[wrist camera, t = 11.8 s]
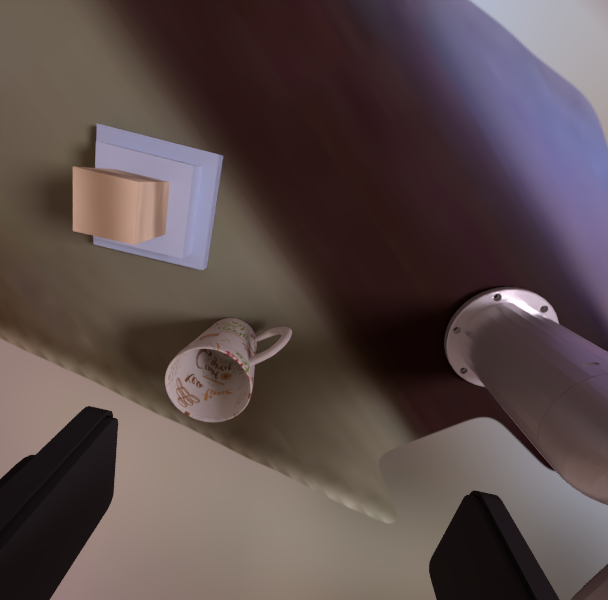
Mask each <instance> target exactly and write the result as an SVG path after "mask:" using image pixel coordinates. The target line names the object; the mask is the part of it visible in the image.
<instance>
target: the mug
mask: <svg viewBox="0 0 608 600" xmlns="http://www.w3.org/2000/svg"><path fill="white" fill-rule="evenodd" d="M278 334H280V335H281V337H280V338H279V340H278V341H277V342H276V343H275V344H274V345H272V346H271V347H270V348H268V349H267V350H265V351H263V352H261V353H259V354H256V348H257V342H258V341H261V340H263V339H266V338H268V337H271V336H274V335H278ZM291 336H292V330H291V329H290V328H289V327H286V326H283V327H276V328H272V329H269V330H268V331H266V332H264V333H262V334H260V335H259V336H257V337H256V335H255V333H254V331H253V329H252V328H251V327H250V326H249V325H248V324H247V323H245V322H244V321H242V320H239V319H236V318H225V319H222V320H219V321H218V322H216V323H215V324H213V325H212V326H211V327H210V328H208V329H207V330H206V331H205V332H204V333H202V334H201V335H200V336H199V337H197V338H196V339H195V340H194V341H193V342H191V343H190V344H189V345H188V346H186V347H185V348H184V349H183V350H182V351H180V352H179V353H178V354H177V355H176V356H175V357H174V358H173V359H172V361H171V362H170V364H169V366H168V368H167V370H166V374H165V387H166V391H167V393H168V396H169V398H170V399H171V401H172V402H173V404H174V405H175V406H176V407H177V408H178V409H179V410H180V411H182V412H183V413H184V414H186V415H188V416H190V417H192V418H194V419H197V420H200V421H205V422H221V421H226V420H229V419H231V418H233V417H235V416H237V415H238V414H240V413H241V412H242V411H243V410H244V409H245V407H246V406H247V404H248V403H249V401H250V398H251V395H252V390H253V381H254V370H255V364H257V363H260V362H262V361H264V360H266V359H268V358H270V357H272V356H273V355H275V354H276V353H277V352H279V351H280V350H281V349H282V348H283V347H284V346H285V345H286V344H287V343H288V341H289V340H290V338H291Z"/></svg>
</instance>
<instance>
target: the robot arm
mask: <svg viewBox="0 0 608 600" xmlns="http://www.w3.org/2000/svg"><path fill="white" fill-rule="evenodd" d="M455 327H456V328H455ZM454 328H455V329H454ZM444 349H445V355H446V357H447V359H448V362H449V363H450V365H451V366H452V368H453V369H454V370H455V372H456V373H457V374H458V375H459V376H460V377H462V378H463V379H465V380H466V381H468V382H470V383H472V384H475V385H479V386H483V387H486V388H487V389H488V391H489V392H490V393H491V394H492V395H493V397H494V398H495V399H496V400H497V402H498V403H499V404H500V405H501V406H502V408H503V409H504V410H505V411H506V412H507V414H508V415H509V416H510V417H511V418H512V420H513V421H514V422H515V423H516V424H517V426H518V427H519V428H520V429H521V431H522V432H523V433H524V434H525V435H526V437H527V438H528V439H529V440H530V441H531V443H532V444H533V445H534V446H535V447H536V449H537V450H538V451H539V452H540V453H541V454H542V456H543V457H544V458H545V459H546V460H547V462H548V463H549V464H550V465H551V466H552V467H553V469H554V470H555V471H556V472H557V473H558V474H559V475H560V476H561V477H562V478H563V479H564V480H565V481H566V482H567V483H568V484H570V485H571V486H572V487H573V488H575V489H576V490H578V491H579V492H581V493H582V494H584V495H586V496H587V497H589V498H591V499H594V500H596V501H598V502H601V503H603V504H606V505H608V352H606V351H605V350H603V349H601V348H599V347H598V346H596V345H594V344H593V343H591V342H589V341H587V340H586V339H584V338H582V337H580V336H579V335H577V334H575V333H574V332H572V331H570V330H568V329H567V328H565V327H563V326H562V325H560V324H559V322H558V318H557V315H556V313H555V311H554V309H553V308H552V306H551V305H550V304H549V303H548V302H547V301H546V300H545V299H544V298H542V297H541V296H539V295H537V294H536V293H533V292H531V291H529V290H526V289H522V288H518V287H499V288H494V289H490V290H487V291H484V292H482V293H480V294H478V295H476V296H474V297H472V298H471V299H469V300H468V301H467V302H465V303H464V304H463V305H462V306H461V307H460V308H459V309H458V310H457V311H456V313H455V314H454V315H453V317H452V318H451V320H450V322H449V324H448V326H447V329H446V333H445V336H444ZM117 431H118V420H117V419H116V418H113V413H112V411H108V410H103V409H99V408H95V407H90V406H88V407H85V408H84V409H83V410H82V411H81V412H80V413H79V414H78V415H77V416H75V417H74V418H73V419H72V420H71V421H70V422H69V423H68V424H67V425H66V426H65V427H64V428H63V429H62V430H61V431H60V432H59V433H58V434H57V435H56V436H55V437H54V438H53V439H52V440H51V441H50V442H49V443H48V444H47V445H45V446H44V447H43V448H42V449H41V450H40V451H39V452H38V453H37V454H36V455H30V456H28V457H25V458H24V459H22V460H21V461H20V462H19V463H17V464H16V465H15V466H14V467H13V468H12V469H11V470H10V471H9V472H8V473H7V474H5V475H4V476H3V477H2V478H1V479H0V600H50V598H51V597H52V595H53V593H54V592H55V590H56V589H57V587H58V586H59V584H60V583H61V581H62V579H63V578H64V576H65V575H66V573H67V572H68V570H69V569H70V567H71V565H72V564H73V562H74V561H75V559H76V558H77V556H78V555H79V553H80V551H81V550H82V548H83V547H84V545H85V544H86V542H87V540H88V539H89V537H90V536H91V534H92V533H93V531H94V530H95V528H96V527H97V525H98V523H99V522H100V520H101V519H102V517H103V516H104V514H105V512H106V511H107V509H108V507H109V505H110V503H111V501H112V497H113V492H114V477H115V462H116V461H115V460H116V446H117ZM429 573H430V578H431V581H432V585H433V588H434V592H435V595H436V599H437V600H559V598H558V596H557V595H556V593H555V591H554V590H553V588H552V586H551V584H550V583H549V581H548V579H547V577H546V576H545V574H544V572H543V571H542V569H541V568H540V565H539V564H538V562H537V560H536V559H535V557H534V555H533V553H532V552H531V550H530V548H529V547H528V545H527V543H526V541H525V540H524V538H523V536H522V535H521V533H520V531H519V529H518V528H517V526H516V524H515V523H514V521H513V519H512V517H511V516H510V514H509V512H508V510H507V509H506V507H505V505H504V504H503V502H502V501H501V499H500V498H499V497H498V496H496V495H493V494H488V493H484V492H479V491H472V492H471V493H470V494H469V495H466V496H465V497H464V498H463V500H462V502H461V504H460V506H459V508H458V509H457V511H456V513H455V515H454V517H453V519H452V521H451V522H450V524H449V526H448V528H447V530H446V532H445V534H444V535H443V537H442V539H441V541H440V543H439V545H438V547H437V548H436V550H435V552H434V554H433V556H432V558H431V560H430V564H429ZM570 600H608V564H607V565H606V566H604V567H603V569H601V570H600V571H599V572H598V573H597V574H596V575H595V576H594V577H593V578H591V579H590V580H589V581H588V582H587V583H586V584H585V585H584V586H583V587H582V588H581V589H580V590H579V591H578V592H577V593H576V594H575V595H574V596H573V597H572V598H571V599H570Z"/></svg>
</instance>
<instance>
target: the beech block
mask: <svg viewBox="0 0 608 600" xmlns="http://www.w3.org/2000/svg"><path fill="white" fill-rule="evenodd" d="M169 186H170V182H167V181H163V180H159V179H155V178H150V177H146V176H142V175H138V174H134V173H130V172H125V171H121V170H117V169H103V168H88V167H74V166H73V231H76V232H80V233H84V234H89V235H93V236H97V237H102V238H106V239H110V240H115V241H119V242H123V243H128V244H132V245H136V244H138V243H141V242H144V241H147V240H150V239H153V238H156V237H159V236H162V235H165V231H166V220H167V209H168V197H169Z"/></svg>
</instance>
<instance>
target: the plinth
mask: <svg viewBox="0 0 608 600" xmlns="http://www.w3.org/2000/svg"><path fill="white" fill-rule="evenodd" d="M222 161H223V156H222V155H218V154H214V153H210V152H206V151H202V150H199V149H195V148H191V147H187V146H183V145H179V144H175V143H171V142H167V141H163V140H159V139H156V138H152V137H148V136H144V135H140V134H136V133H132V132H128V131H124V130H120V129H116V128H112V127H109V126H105V125H101V124H97V136H96V154H95V168H103V169H117V170H121V171H125V172H130V173H134V174H138V175H142V176H146V177H150V178H155V179H159V180H163V181H167V182H170V186H169V197H168V209H167V220H166V231H165V235H162V236H159V237H156V238H153V239H150V240H147V241H144V242H141V243H138V244H136V245H132V244H128V243H123V242H119V241H115V240H110V239H106V238H102V237H97V236H93V238H94V240H93V244H95V245H99V246H103V247H107V248H111V249H116V250H120V251H124V252H128V253H132V254H137V255H141V256H145V257H149V258H153V259H157V260H162V261H166V262H170V263H174V264H178V265H183V266H187V267H191V268H195V269H199V270H204V269H205V268H206V267H207V263H208V256H209V249H210V243H211V236H212V229H213V222H214V215H215V208H216V202H217V195H218V188H219V181H220V174H221V167H222Z"/></svg>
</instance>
